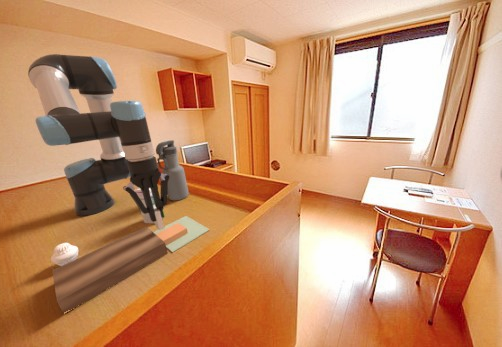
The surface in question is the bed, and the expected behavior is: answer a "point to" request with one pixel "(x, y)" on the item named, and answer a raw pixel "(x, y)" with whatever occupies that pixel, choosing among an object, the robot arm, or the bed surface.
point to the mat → (193, 233)
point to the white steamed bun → (64, 254)
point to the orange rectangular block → (172, 233)
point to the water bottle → (172, 170)
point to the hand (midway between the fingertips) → (160, 227)
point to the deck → (105, 267)
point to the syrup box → (145, 216)
